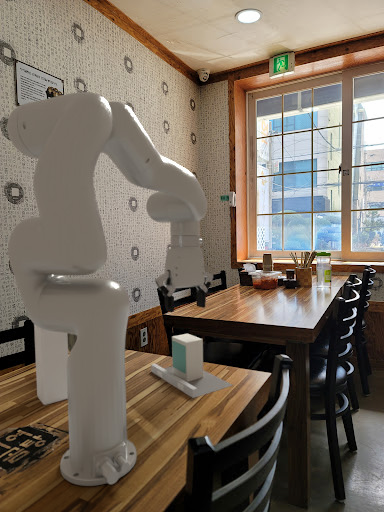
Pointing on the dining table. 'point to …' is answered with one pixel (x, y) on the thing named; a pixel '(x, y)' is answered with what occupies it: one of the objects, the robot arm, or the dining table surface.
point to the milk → (51, 365)
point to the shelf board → (191, 382)
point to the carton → (187, 357)
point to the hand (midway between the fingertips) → (185, 309)
